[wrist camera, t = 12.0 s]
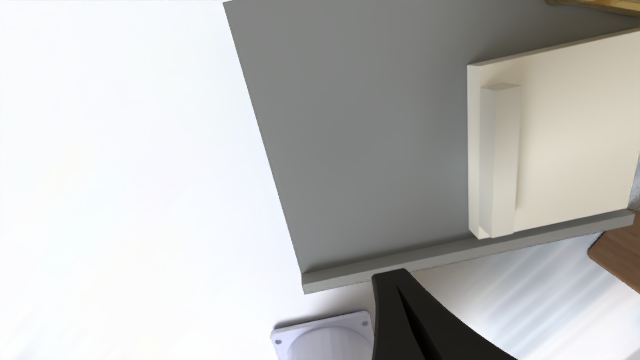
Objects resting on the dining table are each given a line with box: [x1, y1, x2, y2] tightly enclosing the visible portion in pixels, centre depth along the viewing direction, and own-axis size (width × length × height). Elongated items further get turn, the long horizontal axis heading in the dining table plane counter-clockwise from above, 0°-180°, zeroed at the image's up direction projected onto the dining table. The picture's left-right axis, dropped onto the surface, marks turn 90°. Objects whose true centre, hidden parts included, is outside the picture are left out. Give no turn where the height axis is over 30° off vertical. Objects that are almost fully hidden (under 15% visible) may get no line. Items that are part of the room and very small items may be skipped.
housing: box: [223, 0, 640, 294], centre depth 18 cm, size 17×21×3 cm
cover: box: [467, 27, 640, 239], centre depth 16 cm, size 10×9×2 cm
